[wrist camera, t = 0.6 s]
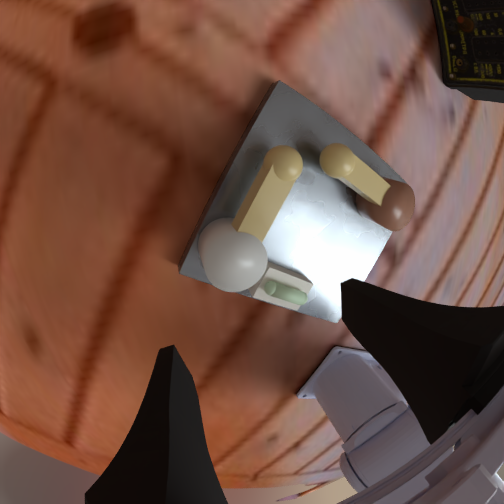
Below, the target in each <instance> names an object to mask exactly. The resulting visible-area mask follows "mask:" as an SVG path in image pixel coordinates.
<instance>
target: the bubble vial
mask: <svg viewBox="0 0 504 504" xmlns="http://www.w3.org/2000/svg"><path fill="white" fill-rule="evenodd" d="M313 285H314V284H313V283H312V282H311V281H310V280H309V279H308V278H307V277H305V276H303V275H300V274H298V273H295V272H293V271H290V270H288V269H285V268H283V267H280V266H278V265H276V264H273V263H271V262H267V267H266V270H265V272H264V274H263V276H262V277H261V278H260V280H259V281H258V282H257V283H256V284H254V285H253V286H251V287H250V288H248V290H249V292H250V293H251V295H252V297H254V298H257V299H260V300H263V301H266V302H270V303H273V304H276V305H279V306H283V307H286V308H289V309H293V310H296V311H298V309H299V307H300V306H301V305H304V304H305V303H306V302H307V300H308V297H307V295H308V293H309V291H310V290H311V288H312V287H313Z"/></svg>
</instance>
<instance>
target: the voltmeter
mask: <svg viewBox="0 0 504 504" xmlns="http://www.w3.org/2000/svg"><path fill="white" fill-rule="evenodd" d="M431 1H432V5H433V9H434V14H435V19H436V24H437V29H438V35H439V42H440V49H441V57H442V67H443V79H444V84H445V85H446V86H447V87H449V88H451V89H457V90H459V91H461V92H462V93H464V94H466V95H467V96H469V97H470V98H472V99H474V100H483V101H492V102H499V103H504V0H431Z"/></svg>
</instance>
